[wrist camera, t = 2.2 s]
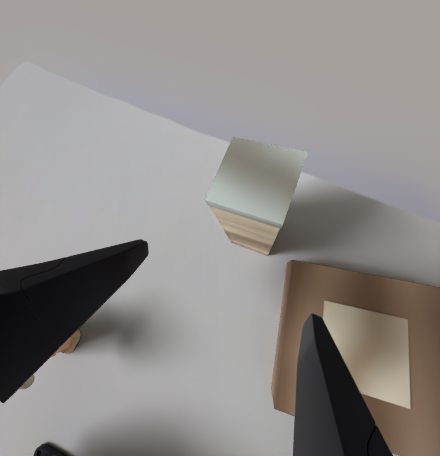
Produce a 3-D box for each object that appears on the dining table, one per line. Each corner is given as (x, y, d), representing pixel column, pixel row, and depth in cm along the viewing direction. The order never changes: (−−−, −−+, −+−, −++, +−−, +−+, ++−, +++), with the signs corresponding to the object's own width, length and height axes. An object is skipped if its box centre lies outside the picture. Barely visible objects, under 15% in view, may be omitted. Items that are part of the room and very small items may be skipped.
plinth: (271, 388, 18) (274, 410, 14) (287, 263, 20) (292, 259, 17) (425, 442, 15) (468, 483, 12) (418, 288, 18) (451, 289, 15)
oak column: (267, 256, 21) (282, 224, 10) (230, 242, 22) (204, 200, 11) (280, 220, 22) (307, 151, 11) (244, 208, 23) (233, 136, 12)
